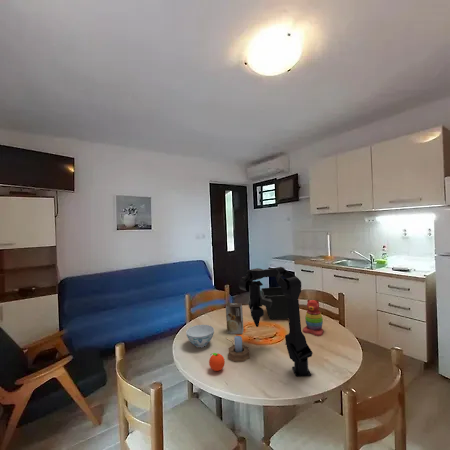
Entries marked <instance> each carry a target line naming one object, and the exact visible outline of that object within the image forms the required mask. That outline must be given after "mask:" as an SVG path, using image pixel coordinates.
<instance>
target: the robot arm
mask: <svg viewBox="0 0 450 450" xmlns="http://www.w3.org/2000/svg"><path fill="white" fill-rule="evenodd" d="M271 277H272V278H273V277H274V278H275V279H276V283H277V284H278V286H279V287H281V288H282V292H283V294H284V296H285V297H286V298H287V308H288V319H287V320H288V331H289V332H288V334H285V337H284V339H285V344H284V345H285V346H286V350H287V353H288V356H289V359H290V360H291V361H292V362H293V366H292V367H291V368H292V371H293V374H294V375H295V377H311V376H312V373H311V371H310V369H309V358H312V356H313V354H314V353H313V351H312V349H311V348H310V346H309V345H308V343H307V340H306V336H305V334H304V332H303V331H302V324H301V314H300V313H301V312H300V302H299V297H300V295H301V292H302V281H301V279H299V277H298V276H296V275H295V274H294V273H292V272H290V271H288V270H287V269H286V268H285V267H283V266H278V267H274V268H266V269H262V268H259V267H257V268H251V269H248V270H247V271H246V274H245V275H244V276H243V277H242V276H241V278H240V280H239V282H238V288H239V289H240V290H242V291H246V292H249V295H248V298H249V299H248V300H247V302H248V303H247V304H248V308H249V310H250V316H251V318H252V321H253V323H254V325H255V327H256V328H258V327H259V325H260V321H261V318H262V317H263V316H265V314H264V313H265V311H264V308H262V307H263V306H264V307H265V306H267V307H269V308H270V307H271V304H272V300H271V299H269V297H268V296H267V295H265V296H264V297H263V295H262V293H261V287H262V286H264V285H263V283H262V282H261V281H260V280H261V279H263V278H271ZM283 277H284V278H283Z"/></svg>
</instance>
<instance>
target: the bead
mask: <svg viewBox="0 0 450 450" xmlns="http://www.w3.org/2000/svg"><path fill="white" fill-rule="evenodd" d="M227 351H228V359H229V360H231V361H233V362H237V363H238V362H245V361H247V360H249V359H250V356H251V355H250V354H251V353H250V348H249V346H247V345H244V344H243V343H242V351H243V352H239V353H237V352H235V345H233V344H232V345H231V346H229V347H228V350H227Z"/></svg>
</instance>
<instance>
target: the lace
mask: <svg viewBox="0 0 450 450" xmlns="http://www.w3.org/2000/svg"><path fill="white" fill-rule="evenodd" d="M225 339H226V340H228V341H230V342H232V346H233V345H235V340H232V339H231V338H228V337H225Z"/></svg>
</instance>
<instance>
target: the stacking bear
mask: <svg viewBox="0 0 450 450" xmlns="http://www.w3.org/2000/svg"><path fill="white" fill-rule="evenodd" d="M306 307H307V310H306V313H305V324H306V326H305V327H303V328H302V333H305V334H311V335H314V336H315V337H316V336H317V337H321V336H322V335H323V334H324V330H323V324H324V323H323V319H324V318H323V316H322V312H321V311H320V310H319V309H320V302H319V300H316V299H315V300H314V299H311V300H310V299H307V304H306Z"/></svg>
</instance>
